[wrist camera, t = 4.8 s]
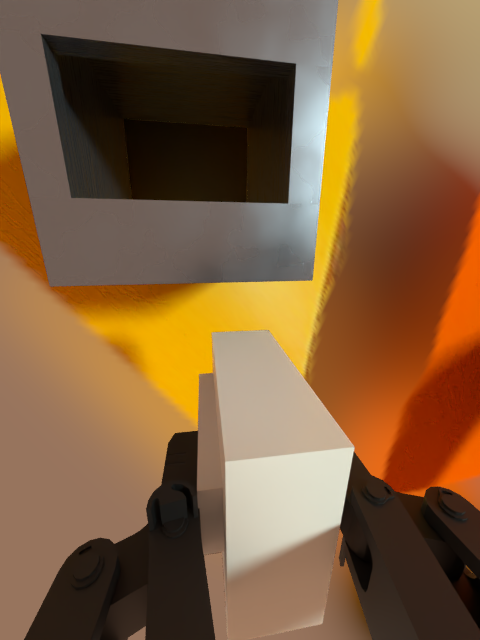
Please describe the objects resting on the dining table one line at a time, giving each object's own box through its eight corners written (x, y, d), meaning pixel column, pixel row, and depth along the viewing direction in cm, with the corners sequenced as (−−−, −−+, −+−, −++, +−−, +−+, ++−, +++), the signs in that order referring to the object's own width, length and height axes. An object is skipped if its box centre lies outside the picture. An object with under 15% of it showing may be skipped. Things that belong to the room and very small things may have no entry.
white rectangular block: (211, 332, 13) (225, 461, 5) (268, 330, 13) (354, 447, 6) (215, 441, 15) (227, 644, 7) (263, 436, 15) (322, 623, 8)
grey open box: (259, 114, 21) (343, -57, 9) (255, 260, 25) (312, 280, 13) (107, 102, 19) (-48, -135, 7) (128, 261, 23) (49, 286, 11)
